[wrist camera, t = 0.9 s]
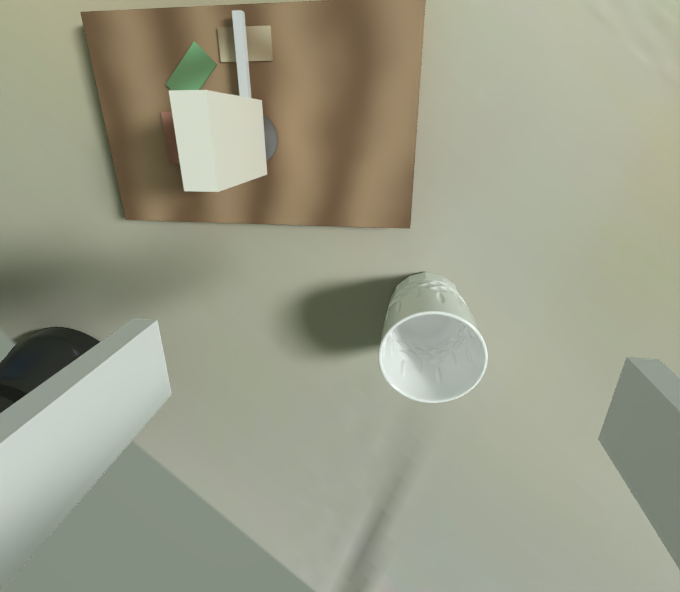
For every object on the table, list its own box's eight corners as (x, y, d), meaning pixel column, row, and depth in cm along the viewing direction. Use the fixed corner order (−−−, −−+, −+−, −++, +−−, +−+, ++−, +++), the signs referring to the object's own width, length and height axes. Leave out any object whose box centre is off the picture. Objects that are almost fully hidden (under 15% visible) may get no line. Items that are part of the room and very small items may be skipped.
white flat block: (241, 174, 33) (184, 191, 24) (226, 14, 28) (149, -35, 20) (267, 174, 33) (218, 191, 24) (255, 12, 28) (190, -38, 20)
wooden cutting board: (141, 214, 39) (124, 220, 36) (102, 20, 33) (78, 11, 30) (409, 221, 35) (410, 229, 33) (424, 5, 29) (426, -6, 27)
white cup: (368, 311, 39) (357, 366, 30) (417, 249, 36) (422, 290, 27) (431, 353, 40) (439, 420, 31) (485, 297, 37) (511, 352, 28)
